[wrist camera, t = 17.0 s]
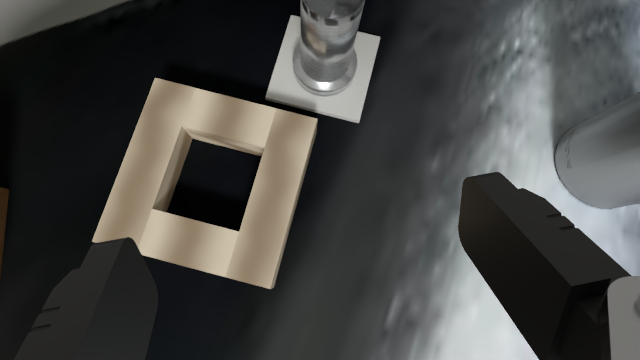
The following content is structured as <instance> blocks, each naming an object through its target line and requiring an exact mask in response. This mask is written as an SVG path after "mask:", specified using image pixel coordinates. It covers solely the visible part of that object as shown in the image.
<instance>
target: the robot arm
mask: <svg viewBox="0 0 640 360" xmlns="http://www.w3.org/2000/svg"><path fill="white" fill-rule="evenodd" d="M555 163H556V168H557V172H558V175H559V177H560V180H561V181H562V183H563V184H564V186H565V187H566V189H567V190H568V191H569V192H570V193H571V194H572V195H573V196H574V197H575V198H577V199H578V200H580V201H581V202H583V203H585V204H587V205H589V206H592V207H596V208H600V209H612V208H617V207H623V206H628V205H633V204H640V92H638V93H636V94H634V95H633V96H631V97H629V98H627V99H625V100H623V101H621V102H619V103H617V104H616V105H614V106H612V107H610V108H608V109H606V110H604V111H602V112H600V113H598V114H597V115H595V116H593V117H591V118H589V119H587V120H585V121H584V122H582V123H580V124H578V125H576V126H574V127H573V128H571V129H570V130H568V131H567V132H566V133H565V134H564V135H563V136H562V138H561V139H560V141H559V143H558V145H557V149H556V153H555ZM458 231H459V237H460V241H461V244H462V246H463V248H464V250H465V252H466V253H467V255H468V256H469V258H470V259H471V260H472V262H473V263H474V265H475V266H476V268H477V269H478V271H479V272H480V274H481V275H482V277H483V278H484V280H485V281H486V282H487V284H488V285H489V287H490V288H491V290H492V291H493V293H494V294H495V296H496V297H497V299H498V300H499V301H500V303H501V304H502V306H503V307H504V309H505V310H506V312H507V313H508V315H509V316H510V318H511V319H512V321H513V322H514V323H515V325H516V326H517V328H518V329H519V331H520V332H521V334H522V335H523V337H524V338H525V340H526V341H527V343H528V344H529V345H530V347H531V348H532V350H533V351H534V353H535V354H536V356H537V357H538V359H539V360H640V276H631V275H630V274H629V273H628V272H627V271H625V270H624V269H623V268H622V267H621V266H620V265H619V264H618V263H616V262H615V261H614V260H613V259H612V258H611V257H610V256H609V255H608V254H606V253H605V252H604V251H603V250H602V249H601V248H600V247H599V246H597V245H596V244H595V243H594V242H593V241H592V240H591V239H590V238H588V237H587V236H586V235H585V234H584V233H583V232H582V231H581V230H580V229H578V228H575V227H574V224H573V223H572V222H571V221H569V220H568V219H567V218H566V217H565V216H561V213H560V212H559V211H558V210H557V209H556V208H555V207H554V206H553V205H551V204H550V203H549V202H548V201H547V200H546V199H545V198H542V197H540V196H538V195H536V194H534V193H532V192H530V191H528V190H526V189H524V188H521V189H517V188H516V187H515V186H514V185H513V184H512V183H511V182H510V181H509V180H508V179H507V178H505V177H504V176H503V175H502V174H501V173H499V172H494V173H488V174H483V175H477V176H472V177H467V178H466V179H465V180H464V182H463V187H462V196H461V206H460V215H459V225H458ZM157 306H158V294H157V288H156V285H155V282H154V280H153V278H152V276H151V273H150V271H149V269H148V267H147V265H146V263H145V261H144V259H143V257H142V255H141V253H140V251H139V249H138V247H137V245H136V243H135V241H134V240H133V239H132V238H130V237H127V238H121V239H116V240H110V241H104V242H99V243H95V244H93V245H92V246H91V248H90V250H89V251H88V253H87V255H86V257H85V259H84V261H83V263H82V265H81V267H80V269H74V270H72V271H71V272H70V273H69V274H68V275H67V276H66V277H65V278H64V279H63V280H62V281H61V282H60V283H59V284H58V285H57V286H56V287H55V288H54V289H53V290H52V292H51V294H50V296H49V298H48V299H47V301H46V303H45V305H44V307H43V308H42V314H39V316H38V317H37V319H36V321H35V323H34V325H33V326H32V332H29V334H28V335H27V337H26V339H25V341H24V343H23V344H22V346H21V348H20V350H19V352H18V353H17V355H16V357H15V359H14V360H145V356H146V352H147V348H148V344H149V340H150V336H151V332H152V328H153V324H154V320H155V316H156V311H157Z"/></svg>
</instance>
